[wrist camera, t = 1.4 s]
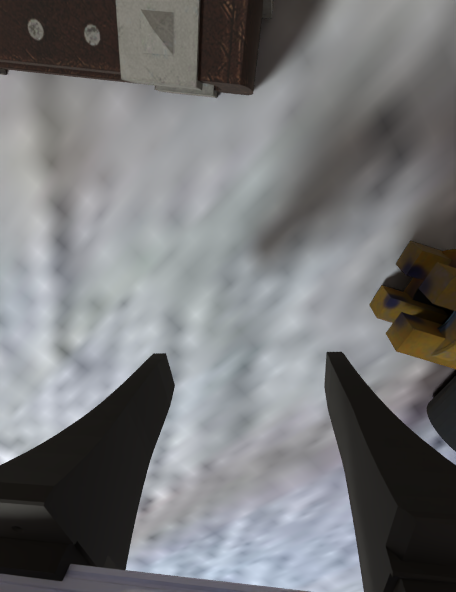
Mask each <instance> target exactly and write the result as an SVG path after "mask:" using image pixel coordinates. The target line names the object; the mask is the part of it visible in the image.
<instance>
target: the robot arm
mask: <svg viewBox="0 0 456 592" xmlns="http://www.w3.org/2000/svg"><path fill="white" fill-rule="evenodd" d="M174 387H175V384H174V381H173V377H172V374H171V370H170V366H169V363H168V359H167V356H166V353H162V354H153V355H152V356H150V357H149V358H148V359H147V360H146V361H145V362H144V363H143V364H142V365H141V366H140V367H139V368H138V369H137V370H136V371H135V372H134V373H133V374H132V375H131V376H130V377H129V378H128V379H127V380H126V381H125V382H124V383H123V384H122V385H121V386H120V387H119V388H117V389H116V390H115V391H114V392H113V393H112V394H111V395H110V396H108V397H107V398H106V399H105V400H104V401H103V402H101V403H100V404H99V405H98V406H97V407H95V408H94V409H93V410H91V411H90V412H89V413H87V414H86V415H85V416H83V417H82V418H81V419H79V420H78V421H76V422H75V423H73V424H72V425H70V426H69V427H67V428H66V429H64V430H63V431H61V432H60V433H58V434H57V435H55V436H54V437H52V438H50V439H49V440H47V441H45V442H44V443H42V444H40V445H38V446H37V447H35V448H33V449H31V450H29V451H28V452H26V453H24V454H22V455H20V456H18V457H16V458H14V459H12V460H10V461H8V462H6V463H4V464H2V465H0V592H309V591H300V590H292V589H283V588H274V587H266V586H257V585H248V584H240V583H231V582H223V581H214V580H205V579H197V578H188V577H179V576H171V575H162V574H153V573H145V572H136V571H127V570H125V569H126V564H127V559H128V554H129V548H130V543H131V538H132V533H133V529H134V524H135V519H136V515H137V510H138V506H139V502H140V498H141V494H142V489H143V485H144V481H145V478H146V474H147V470H148V466H149V463H150V460H151V457H152V454H153V451H154V448H155V445H156V443H157V440H158V437H159V435H160V432H161V429H162V427H163V424H164V421H165V419H166V416H167V413H168V410H169V407H170V404H171V400H172V396H173V391H174ZM325 393H326V400H327V406H328V411H329V415H330V419H331V422H332V426H333V430H334V433H335V437H336V440H337V444H338V448H339V451H340V455H341V459H342V463H343V467H344V471H345V476H346V482H347V488H348V493H349V499H350V505H351V511H352V517H353V523H354V529H355V535H356V541H357V548H358V554H359V561H360V568H361V574H362V581H363V588H364V592H456V465H455V464H453V463H452V462H451V461H449V460H448V459H446V458H445V457H444V456H442V455H441V454H440V453H439V452H437V451H436V450H435V449H434V448H432V447H431V446H430V445H429V444H427V443H426V442H425V441H424V440H422V439H421V438H420V437H419V436H418V435H416V434H415V433H414V432H413V431H412V430H411V429H410V428H408V427H407V426H406V425H405V424H404V423H403V422H402V421H401V420H400V419H399V418H398V417H397V416H396V415H395V414H394V413H393V412H392V411H391V410H390V409H389V408H388V407H387V406H386V405H385V404H384V403H383V402H382V401H381V400H380V399H379V398H378V397H377V395H376V394H375V393H374V392H373V391H372V390H371V389H370V387H369V386H368V385H367V384H366V383H365V381H364V380H363V379H362V378H361V377H360V375H359V374H358V373H357V371H356V370H355V369H354V367H353V366H352V365H351V363H350V362H349V361H348V359H347V358H346V356H345V355H344V354H343V353H342V352H327V355H326V371H325Z"/></svg>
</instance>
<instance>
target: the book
mask: <svg viewBox="0 0 456 592" xmlns="http://www.w3.org/2000/svg"><path fill="white" fill-rule="evenodd" d="M273 1H274V0H0V74H2V75H6V70H5V69H8V70H17V71H26V72H36V73H45V74H54V75H64V76H73V77H82V78H92V79H101V80H110V81H120V82H129V83H138V84H147V85H155V90H158V91H161V92H169V93H178V94H187V95H197V96H206V97H215V98H217V92H223V93H232V94H241V95H252V94H253V90H254V81H255V72H256V64H257V55H258V46H259V38H260V29H261V20H262V18H268V19H271V17H272V9H273Z"/></svg>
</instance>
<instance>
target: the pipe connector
mask: <svg viewBox="0 0 456 592" xmlns="http://www.w3.org/2000/svg"><path fill="white" fill-rule="evenodd" d="M396 265H397V266H398V267H399V268H400V269H401V270H402V271H403V272H404V274H405V275H407V276H410V277H413V278H412V280H411V281H410V283H409V284H408V286H407V287H406V288H405V290H404V291H403V292H402V291H399V290H395V289H392V288H389V287H386V286H383V285H382V286H381V287H380V289H379V291H378V292H377V294H376V295H375V297H374V298H373V300H372V301H371V303H370V307H371V309H372V310H373V312H374V314H375V316H376V317H377V318H378V319H382V320H385V321H388V322H392V323H393V324H392V325H391V327H390V328H389V330H388V331H387V332H386V335H387V336H388V338H389V340H390V341H391V343H392V345H393V347H394V348H395V350H396V351H397V352H400V353H404V354H407V355H410V356H414V357H417V358H420V359H424V360H427V361H430V362H434V363H437V364H440V365H444V366H447V367H450V368H454V369H456V249H450V250H445V251H441V250H438V249H435V248H431V247H428V246H425V245H422V244H419V243H416V242H413V241H410V242H409V244H408V245H407V247H406V249H405V250H404V252H403V253H402V255H401V256H400V258H399V259H398V261H397V263H396ZM427 414H428V417H429V420H430V422H431V424H432V425H433V427H434V428H435V430H436V431H437V432H438V434H439V435H440V436H441V437H442V439H443V440H444V441H445V442H446V443H447V444H448V445H449V446H450V447H451V448H452V449H453V450H455V451H456V376H455V377H454V378H453V379H452V380H451V381H450V382H449V383H448V384H447V385H446V386H445V387H444V388H443V389H442V390H441V391H440V392H439V393H438V394H437V395H436V396H435V397H434V398H433V399H432V400H431V401H430V402H429V403H428V405H427Z"/></svg>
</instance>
